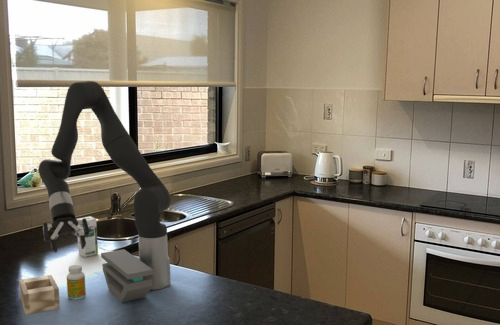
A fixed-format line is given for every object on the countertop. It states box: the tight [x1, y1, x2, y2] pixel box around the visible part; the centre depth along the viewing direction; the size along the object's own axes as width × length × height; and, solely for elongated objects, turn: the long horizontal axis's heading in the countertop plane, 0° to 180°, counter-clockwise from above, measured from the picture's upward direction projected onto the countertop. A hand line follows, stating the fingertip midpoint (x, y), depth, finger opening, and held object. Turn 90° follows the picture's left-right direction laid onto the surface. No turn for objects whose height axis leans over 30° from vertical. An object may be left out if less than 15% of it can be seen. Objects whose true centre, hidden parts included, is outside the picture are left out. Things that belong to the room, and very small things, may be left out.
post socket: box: [18, 274, 61, 315], centre depth 168 cm, size 10×14×6 cm
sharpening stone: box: [100, 248, 153, 303], centre depth 175 cm, size 25×8×11 cm, turn 33°
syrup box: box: [76, 215, 99, 258], centre depth 216 cm, size 6×6×14 cm
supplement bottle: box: [66, 264, 87, 300], centre depth 173 cm, size 5×5×10 cm
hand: (69, 249), depth 179 cm, fingers open, 8 cm apart
